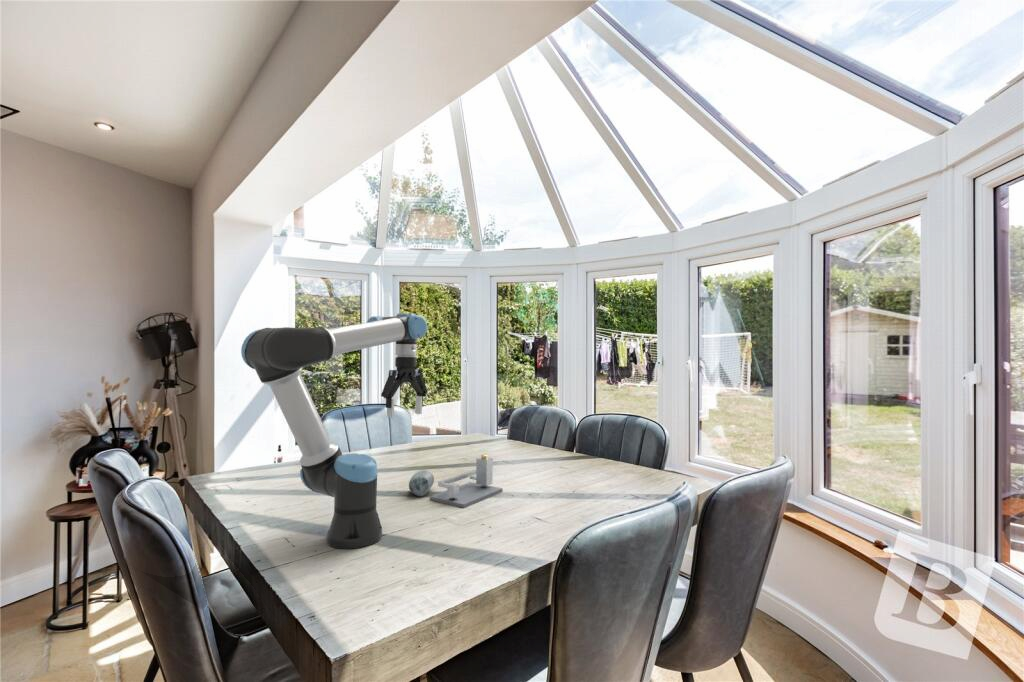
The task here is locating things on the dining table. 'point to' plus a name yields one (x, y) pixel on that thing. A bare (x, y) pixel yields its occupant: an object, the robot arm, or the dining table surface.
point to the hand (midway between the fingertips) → (404, 415)
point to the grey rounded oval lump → (421, 482)
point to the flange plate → (467, 495)
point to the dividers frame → (454, 488)
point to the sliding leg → (483, 470)
